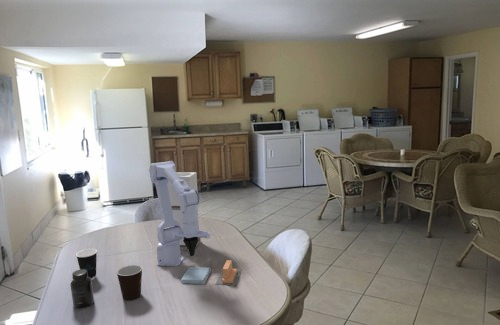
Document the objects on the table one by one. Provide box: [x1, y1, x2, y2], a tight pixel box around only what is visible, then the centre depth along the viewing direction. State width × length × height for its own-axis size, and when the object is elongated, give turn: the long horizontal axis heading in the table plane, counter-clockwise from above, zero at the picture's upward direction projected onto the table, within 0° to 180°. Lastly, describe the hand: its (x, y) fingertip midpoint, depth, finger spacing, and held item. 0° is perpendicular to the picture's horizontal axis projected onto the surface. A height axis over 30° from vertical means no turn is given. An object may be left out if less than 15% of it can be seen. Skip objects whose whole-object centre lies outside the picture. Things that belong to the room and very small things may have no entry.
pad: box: [215, 269, 242, 286], centre depth 150 cm, size 8×12×1 cm, turn 172°
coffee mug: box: [116, 264, 143, 302], centre depth 140 cm, size 12×9×10 cm
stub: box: [222, 259, 238, 283], centre depth 150 cm, size 4×10×5 cm, turn 172°
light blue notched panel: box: [180, 266, 212, 285], centre depth 152 cm, size 9×11×2 cm
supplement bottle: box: [70, 269, 95, 310], centre depth 134 cm, size 7×7×12 cm
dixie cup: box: [75, 248, 98, 281], centre depth 154 cm, size 8×8×11 cm
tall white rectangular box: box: [167, 171, 202, 250], centre depth 184 cm, size 11×11×35 cm
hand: (192, 255), depth 149 cm, fingers closed
